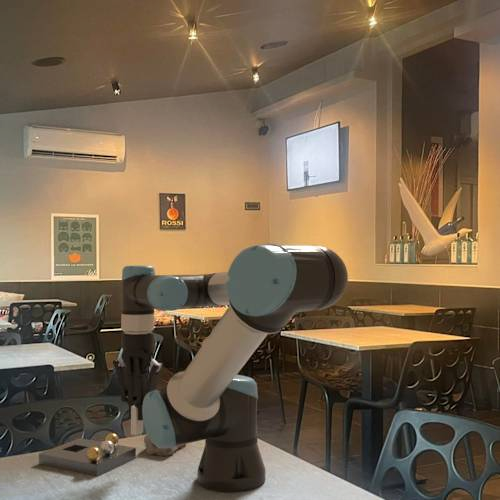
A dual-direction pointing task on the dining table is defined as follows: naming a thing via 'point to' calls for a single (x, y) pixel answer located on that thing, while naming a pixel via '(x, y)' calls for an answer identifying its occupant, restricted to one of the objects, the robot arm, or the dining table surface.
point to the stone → (154, 449)
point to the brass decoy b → (112, 438)
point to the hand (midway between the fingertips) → (137, 433)
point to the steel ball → (107, 447)
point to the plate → (76, 457)
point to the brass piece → (93, 454)
